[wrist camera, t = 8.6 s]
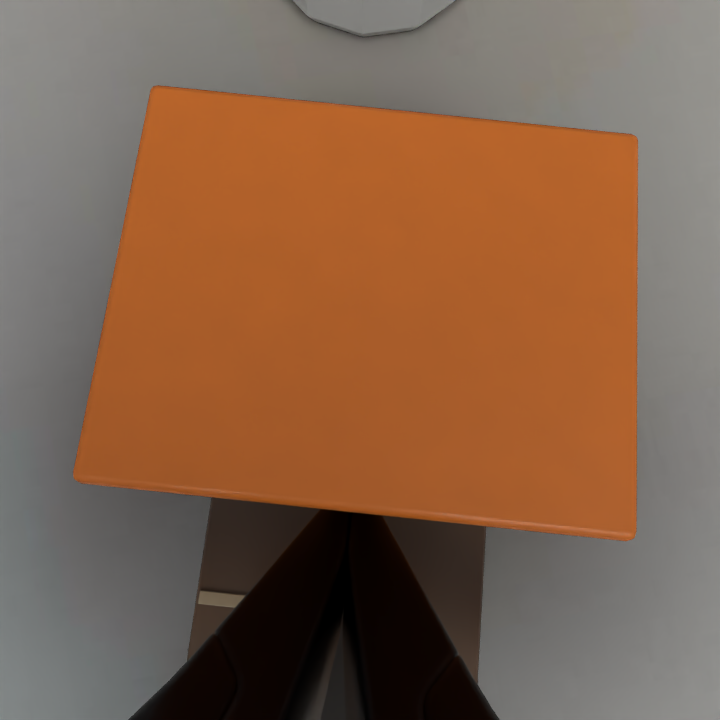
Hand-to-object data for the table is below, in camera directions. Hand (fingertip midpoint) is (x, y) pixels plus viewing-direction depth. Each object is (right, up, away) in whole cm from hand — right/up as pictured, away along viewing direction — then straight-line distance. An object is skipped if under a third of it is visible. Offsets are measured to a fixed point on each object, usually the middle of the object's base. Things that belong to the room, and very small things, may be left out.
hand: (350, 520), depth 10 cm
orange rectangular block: (0, +1, +5) cm, 5 cm away
